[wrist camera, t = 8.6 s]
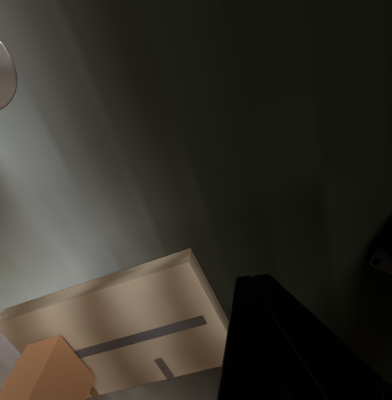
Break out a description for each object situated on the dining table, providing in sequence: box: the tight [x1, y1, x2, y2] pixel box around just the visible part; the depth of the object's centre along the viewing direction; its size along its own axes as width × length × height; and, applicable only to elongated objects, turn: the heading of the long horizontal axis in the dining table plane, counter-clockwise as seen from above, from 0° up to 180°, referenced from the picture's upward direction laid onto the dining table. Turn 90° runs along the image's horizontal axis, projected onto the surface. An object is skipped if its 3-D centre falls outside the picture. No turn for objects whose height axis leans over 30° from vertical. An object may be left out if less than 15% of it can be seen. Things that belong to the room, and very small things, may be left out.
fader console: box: [0, 248, 229, 398], centre depth 26 cm, size 16×10×2 cm, turn 113°
